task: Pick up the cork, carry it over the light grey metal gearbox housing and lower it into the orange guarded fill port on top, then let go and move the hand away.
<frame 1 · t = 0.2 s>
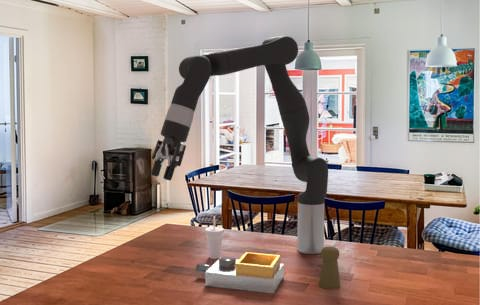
hand: (160, 177, 136), 31 cm above the table, tool tilted 20°, fingers open, 8 cm apart
smoothie: (214, 257, 164), on the table
cork: (329, 285, 139), on the table
gearbox: (245, 281, 142), on the table
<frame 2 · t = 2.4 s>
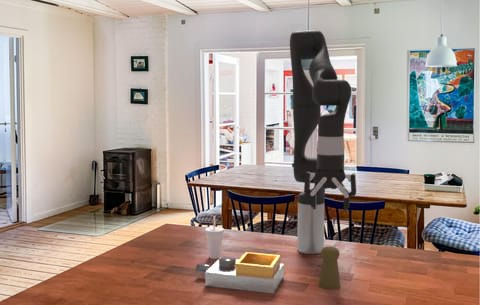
hand: (329, 209, 136), 22 cm above the table, tool pointing down, fingers open, 8 cm apart
nothing on the table moved.
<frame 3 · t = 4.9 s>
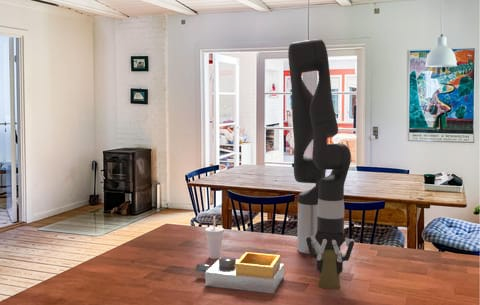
hand: (329, 272, 139), 4 cm above the table, tool pointing down, fingers closed on cork, 4 cm apart
cork: (329, 285, 139), on the table, touching gripper
everything else where it was.
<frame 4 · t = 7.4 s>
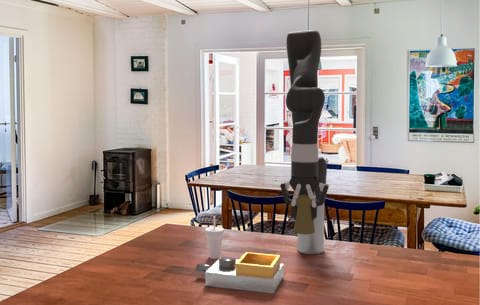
hand: (304, 218, 137), 19 cm above the table, tool pointing down, fingers closed on cork, 4 cm apart
cork: (304, 232, 138), point 15 cm above the table, touching gripper
everything else where it was.
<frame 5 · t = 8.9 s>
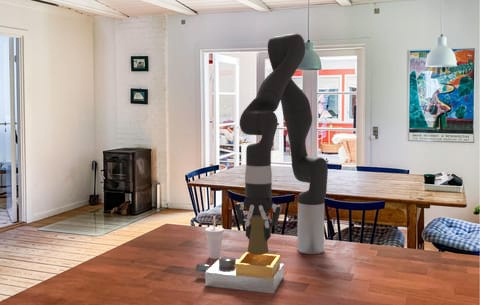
hand: (258, 238, 140), 13 cm above the table, tool pointing down, fingers closed on cork, 4 cm apart
cork: (258, 251, 140), point 9 cm above the table, touching gripper
everything else where it was.
when the fingers open (9 cm above the table, at t = 10.1 s): cork drops 1 cm, resting on gearbox.
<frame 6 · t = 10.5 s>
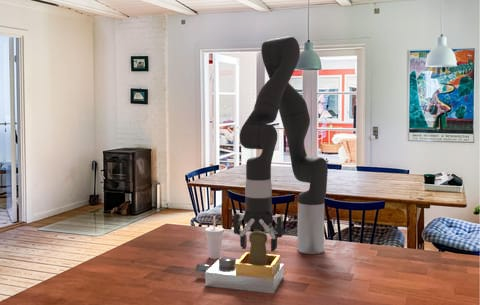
hand: (258, 249, 140), 10 cm above the table, tool pointing down, fingers open, 8 cm apart
cork: (258, 269, 141), point 4 cm above the table, touching gearbox
everything else where it was.
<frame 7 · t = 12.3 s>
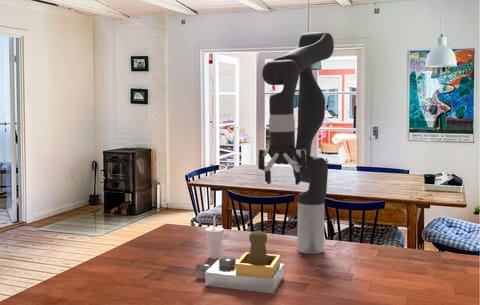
hand: (282, 183, 144), 28 cm above the table, tool pointing down, fingers open, 8 cm apart
nothing on the table moved.
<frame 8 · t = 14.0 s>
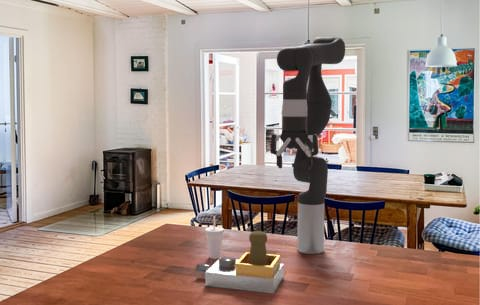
hand: (294, 168, 146), 32 cm above the table, tool pointing down, fingers open, 8 cm apart
nothing on the table moved.
at the end: cork 0.2 cm from the target spot on the gearbox, point 3.8 cm above the gearbox's base; cork tilted 0°; the gripper is holding nothing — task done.
